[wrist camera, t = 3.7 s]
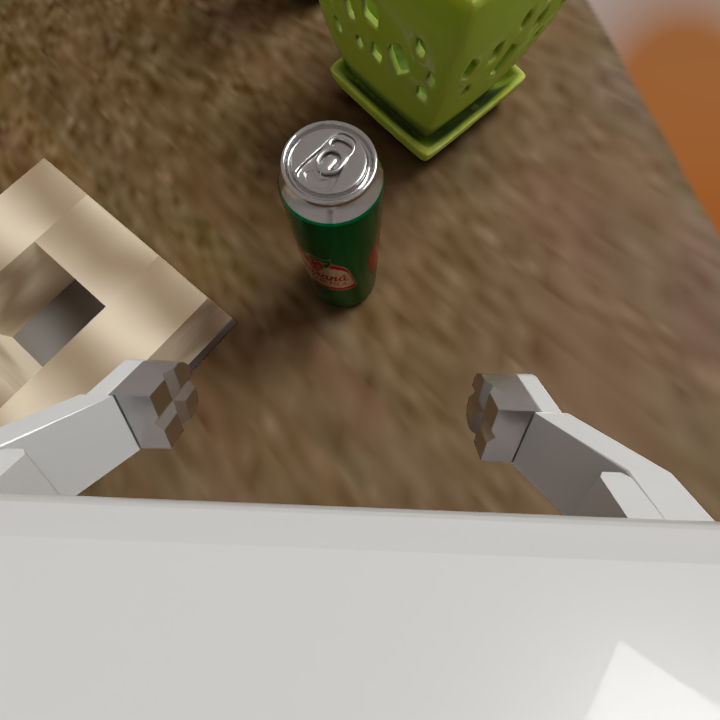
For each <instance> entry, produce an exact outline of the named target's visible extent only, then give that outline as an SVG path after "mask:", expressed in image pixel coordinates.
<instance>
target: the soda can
mask: <svg viewBox="0 0 720 720" xmlns="http://www.w3.org/2000/svg"><path fill="white" fill-rule="evenodd" d="M384 185H385V175H384V169H383V166H382V163H381V161H380V159H379V158H378V156H377V152H376V149H375V146H374V144H373V143H372V141H371V139H370V138H369V137H368V136H367V135H366V134H365V133H364V132H363V131H362V130H360V129H359V128H357V127H356V126H354V125H351V124H349V123H346V122H342V121H336V120H325V121H318V122H314V123H311V124H309V125H306V126H304V127H303V128H301V129H299V130H298V131H297V132H295V133H294V134H293V135H292V136H291V137H290V138H289V140H288V141H287V143H286V144H285V146H284V148H283V151H282V155H281V162H280V170H279V173H278V189H279V193H280V196H281V199H282V202H283V205H284V208H285V211H286V213H287V216H288V219H289V222H290V225H291V228H292V231H293V233H294V236H295V239H296V242H297V245H298V248H299V250H300V253H301V256H302V259H303V262H304V265H305V267H306V270H307V273H308V276H309V279H310V282H311V285H312V287H313V289H314V291H315V293H316V294H317V296H318V297H319V298H320V299H321V300H323V301H324V302H326V303H328V304H330V305H333V306H337V307H349V306H353V305H356V304H358V303H360V302H361V301H363V300H364V299H365V298H366V297H367V296H368V295H369V294H370V293H371V291H372V289H373V287H374V284H375V278H376V267H377V257H378V247H379V236H380V226H381V216H382V205H383V195H384Z"/></svg>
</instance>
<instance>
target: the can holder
mask: <svg viewBox="0 0 720 720" xmlns="http://www.w3.org/2000/svg"><path fill="white" fill-rule="evenodd" d="M236 324H237V322H236V321H235V320H234V319H233V318H231V317H230V316H229V315H228V314H227V313H226V312H224V311H223V310H222V309H221V308H220V307H219V306H217V305H216V304H215V303H214V302H213V301H212V300H210V299H209V298H208V297H207V296H206V295H205V294H203V293H202V292H201V291H200V290H199V289H198V288H196V287H195V286H194V285H193V284H192V283H191V282H189V281H188V280H187V279H186V278H185V277H183V276H182V275H181V274H180V273H179V272H178V271H176V270H175V269H174V268H173V267H172V266H171V265H169V264H168V263H167V262H166V261H165V260H164V259H162V258H161V257H160V256H159V255H158V254H157V253H155V252H154V251H153V250H152V249H151V248H150V247H148V246H147V245H146V244H145V243H144V242H143V241H141V240H140V239H139V238H138V237H137V236H136V235H134V234H133V233H132V232H131V231H130V230H128V229H127V228H126V227H125V226H124V225H123V224H121V223H120V222H119V221H118V220H117V219H116V218H114V217H113V216H112V215H111V214H110V213H109V212H107V211H106V210H105V209H104V208H103V207H102V206H100V205H99V204H98V203H97V202H96V201H94V200H93V199H92V198H91V197H90V196H89V195H87V194H86V193H85V192H84V191H83V190H81V189H80V188H79V187H78V186H77V185H76V184H74V183H73V182H72V181H71V180H70V179H68V178H67V177H66V176H65V175H64V174H63V173H61V172H60V171H59V170H58V169H57V168H55V167H54V166H53V165H52V164H51V163H49V162H48V161H47V160H46V159H45V158H43V159H42V160H41V161H40V162H39V163H38V164H36V165H35V166H34V167H33V168H32V169H30V170H29V171H28V172H27V173H26V174H24V175H23V176H22V177H21V178H20V179H19V180H17V181H16V182H15V183H14V184H13V185H11V186H10V187H9V188H8V189H7V190H5V191H4V192H3V193H2V194H1V195H0V427H2V426H4V425H7V424H9V423H12V422H14V421H16V420H19V419H21V418H24V417H26V416H29V415H31V414H34V413H36V412H38V411H41V410H43V409H46V408H48V407H51V406H53V405H55V404H58V403H60V402H63V401H65V400H68V399H70V398H72V397H75V396H77V395H80V394H83V395H86V394H87V393H88V392H90V391H91V390H92V389H93V388H94V387H95V386H96V385H97V384H99V383H100V382H101V381H102V380H103V379H104V378H105V377H107V376H108V375H109V374H110V373H111V372H112V371H113V370H114V369H116V368H117V367H118V366H119V365H120V364H121V363H122V362H124V361H125V360H129V359H146V360H164V361H181V362H185V363H186V364H188V366H189V369H190V372H191V371H192V370H193V369H194V368H195V367H196V366H197V365H198V364H199V363H200V362H201V361H202V359H203V358H204V357H205V356H206V355H207V354H208V353H209V352H210V351H211V350H212V349H213V348H214V347H215V346H216V345H217V344H218V343H219V342H220V341H221V339H222V338H223V337H224V336H225V335H226V334H227V333H228V332H229V331H230V330H231V329H232V328H233V327H234V326H235V325H236Z"/></svg>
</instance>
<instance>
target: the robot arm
mask: <svg viewBox="0 0 720 720" xmlns="http://www.w3.org/2000/svg"><path fill="white" fill-rule="evenodd" d="M190 376H191V372H190V369H189V366H188V364H186V363H185V362H181V361H164V360H146V359H129V360H125V361H124V362H122V363H121V364H120V365H119V366H118V367H117V368H116V369H114V370H113V371H112V372H111V373H110V374H109V375H108V376H107V377H105V378H104V379H103V380H102V381H101V382H100V383H99V384H97V385H96V386H95V387H94V388H93V389H92V390H91V391H90V392H88V393H87V394H86V395H83V394H80V395H77V396H75V397H72V398H70V399H68V400H65V401H63V402H60V403H58V404H55V405H53V406H51V407H48V408H46V409H43V410H41V411H38V412H36V413H34V414H31V415H29V416H26V417H24V418H21V419H19V420H16V421H14V422H12V423H9V424H7V425H4V426H2V427H0V720H720V522H715V521H714V520H713V519H712V518H711V517H710V516H709V515H708V513H707V512H706V511H705V510H704V509H703V508H702V507H701V506H700V505H699V503H698V502H697V501H696V500H695V499H694V498H693V497H692V496H691V495H690V494H689V492H688V491H687V490H686V489H685V488H684V487H683V486H682V485H681V484H680V483H679V481H678V480H677V479H676V478H675V477H674V476H673V475H672V474H671V473H670V472H668V471H666V470H664V469H663V468H661V467H659V466H658V465H656V464H654V463H652V462H651V461H649V460H647V459H646V458H644V457H642V456H640V455H639V454H637V453H635V452H634V451H632V450H630V449H628V448H627V447H625V446H623V445H622V444H620V443H618V442H616V441H615V440H613V439H611V438H610V437H608V436H606V435H604V434H603V433H601V432H599V431H598V430H596V429H594V428H592V427H591V426H589V425H587V424H586V423H584V422H582V421H580V420H579V419H577V418H575V417H574V416H572V415H570V414H568V413H562V412H561V411H560V409H559V408H558V407H557V405H556V404H555V402H554V401H553V400H552V398H551V397H550V395H549V394H548V393H547V391H546V390H545V388H544V387H543V386H542V384H541V383H540V381H539V380H538V379H537V377H536V376H534V375H533V374H482V373H477V374H476V376H475V378H474V381H473V384H472V386H473V388H474V390H475V393H473V394H472V395H471V396H470V397H469V399H468V403H467V411H466V417H467V423H468V426H469V429H470V430H471V431H472V432H473V433H475V434H476V436H475V440H474V443H475V446H476V449H477V452H478V454H479V457H480V460H481V461H494V462H509V463H513V465H514V466H515V467H516V468H517V469H518V470H519V471H520V472H521V473H522V474H523V475H524V476H525V477H526V478H527V479H528V480H529V481H530V482H531V483H532V484H533V485H534V486H535V487H536V488H537V489H538V490H539V491H540V492H541V493H542V494H543V495H544V496H545V497H546V498H547V499H548V500H549V501H550V502H551V503H553V504H554V505H555V506H556V507H557V508H558V509H559V510H560V511H561V512H562V513H563V514H564V515H540V514H515V513H490V512H466V511H441V510H416V509H391V508H366V507H341V506H316V505H291V504H266V503H242V502H217V501H192V500H167V499H142V498H117V497H92V496H76V495H77V494H79V493H80V492H82V491H83V490H84V489H86V488H87V487H89V486H90V485H91V484H93V483H94V482H96V481H97V480H98V479H100V478H101V477H103V476H104V475H105V474H107V473H108V472H109V471H111V470H112V469H114V468H115V467H116V466H118V465H119V464H121V463H122V462H123V461H125V460H126V459H128V458H129V457H130V456H132V455H133V454H134V453H136V452H137V451H139V450H140V448H172V447H173V446H174V444H175V443H176V441H177V439H178V438H179V436H180V435H181V433H182V432H183V426H182V424H183V423H184V422H186V421H188V420H189V419H191V418H192V416H193V414H194V413H195V411H196V407H197V403H198V394H197V390H196V387H195V386H194V385H193V384H192V383H191V382H190V381H188V379H189V378H190Z"/></svg>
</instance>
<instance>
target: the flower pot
mask: <svg viewBox="0 0 720 720" xmlns="http://www.w3.org/2000/svg"><path fill="white" fill-rule="evenodd" d="M565 1H566V0H319V3H320V6H321V9H322V12H323V15H324V17H325V20H326V23H327V25H328V28H329V30H330V33H331V35H332V37H333V40H334V42H335V44H336V46H337V48H338V50H339V52H340V54H341V55H342V57H341V58H340V59H339V60H338V61H336V62H335V63H334V64H333V65H332V66H331V67H330V72H331V74H332V76H333V78H334V80H335V81H336V82H337V83H338V85H339V86H340V87H341V88H342V89H343V90H344V91H345V92H346V93H347V94H348V95H349V96H350V97H351V98H353V99H354V100H355V101H356V102H357V103H358V104H359V105H360V106H361V107H362V108H363V109H364V110H365V111H366V112H367V113H369V114H370V115H371V116H372V117H373V118H374V119H375V120H376V121H377V122H378V123H379V124H381V125H382V126H383V127H384V128H385V129H386V130H387V131H388V132H389V133H390V134H392V135H393V136H394V137H395V138H396V139H397V140H398V141H400V142H401V143H402V144H403V145H404V146H405V147H406V148H408V149H409V150H410V151H411V152H412V153H413V154H414V155H416V156H417V157H418V158H419V159H421V160H423V161H427V160H429V159H430V158H432V157H433V156H434V155H436V154H437V153H438V152H439V151H441V150H442V149H443V148H444V147H446V146H447V145H448V144H450V143H451V142H452V141H453V140H455V139H456V138H457V137H458V136H459V135H461V134H462V133H463V132H464V131H466V130H467V129H468V128H469V127H470V126H472V125H473V124H474V123H475V122H477V121H478V120H479V119H480V118H481V117H483V116H484V115H485V114H486V113H487V112H489V111H490V110H491V109H492V108H494V107H495V106H496V105H497V104H498V103H500V102H501V101H502V100H503V99H505V98H506V97H507V96H508V95H509V94H510V93H512V92H513V91H514V90H515V89H516V88H517V87H518V86H519V85H520V84H521V83H522V81H523V80H524V78H525V74H524V73H523V71H522V70H521V69H520V68H518V67H517V66H516V65H515V63H516V62H517V61H518V60H519V59H520V58H521V57H522V56H523V55H524V54H525V52H526V51H527V50H528V49H529V48H530V47H531V46H532V44H533V43H534V42H535V41H536V39H537V38H538V37H539V36H540V35H541V33H542V32H543V31H544V30H545V28H546V27H547V26H548V24H549V23H550V22H551V20H552V19H553V18H554V16H555V15H556V14H557V12H558V11H559V10H560V8H561V7H562V5H563V4H564V3H565Z"/></svg>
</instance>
